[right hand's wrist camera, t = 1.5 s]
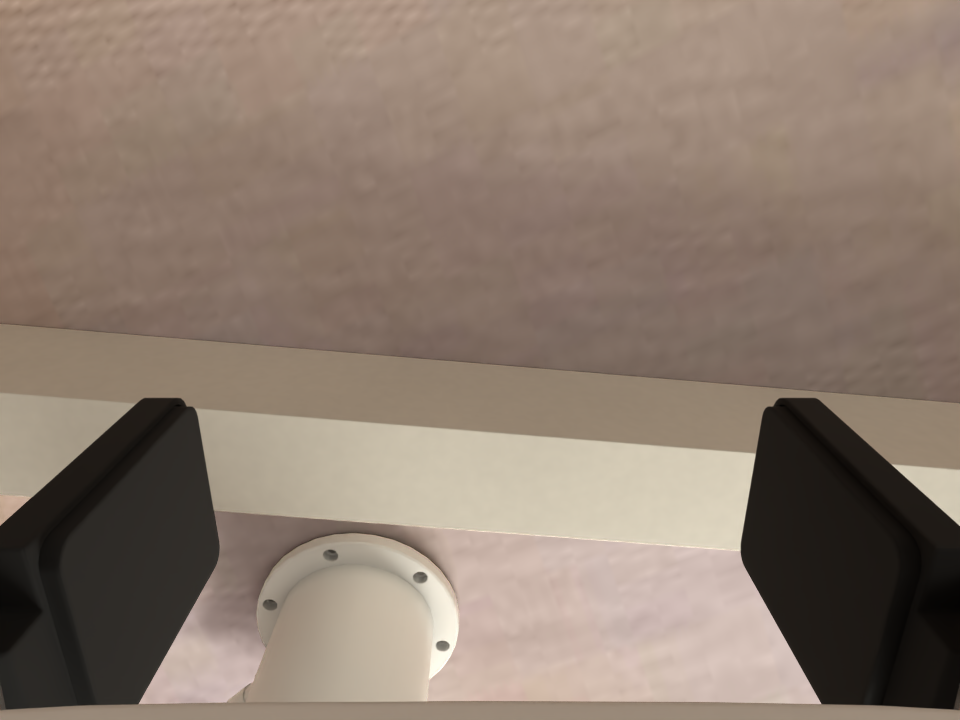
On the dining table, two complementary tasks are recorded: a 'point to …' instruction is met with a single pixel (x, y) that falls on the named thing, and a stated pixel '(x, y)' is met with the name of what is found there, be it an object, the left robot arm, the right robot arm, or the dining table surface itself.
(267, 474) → the bar
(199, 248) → the dining table surface
